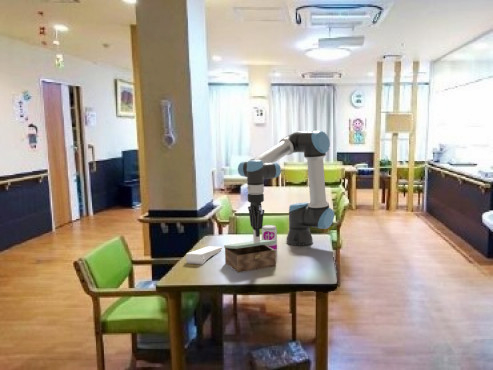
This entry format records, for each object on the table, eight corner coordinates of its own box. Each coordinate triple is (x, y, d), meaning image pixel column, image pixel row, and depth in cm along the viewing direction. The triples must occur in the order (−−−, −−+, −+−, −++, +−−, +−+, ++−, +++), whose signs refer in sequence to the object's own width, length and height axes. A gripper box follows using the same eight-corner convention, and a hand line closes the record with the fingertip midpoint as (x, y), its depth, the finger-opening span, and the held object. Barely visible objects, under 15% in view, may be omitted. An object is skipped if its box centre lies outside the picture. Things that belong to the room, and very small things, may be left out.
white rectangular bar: (208, 259, 245) (186, 268, 219) (206, 246, 246) (183, 254, 219) (224, 256, 242) (204, 264, 216) (222, 243, 243) (200, 250, 216)
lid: (261, 242, 225) (261, 240, 225) (276, 242, 210) (275, 240, 210) (224, 247, 217) (224, 245, 217) (236, 248, 202) (236, 246, 202)
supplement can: (276, 256, 228) (275, 228, 226) (260, 255, 230) (260, 227, 228) (278, 252, 236) (277, 224, 234) (263, 251, 237) (262, 224, 235)
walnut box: (261, 257, 226) (260, 242, 225) (276, 266, 211) (276, 250, 210) (225, 263, 218) (224, 247, 217) (238, 273, 203) (238, 256, 202)
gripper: (242, 192, 207) (243, 240, 210) (254, 195, 196) (255, 247, 199) (256, 191, 210) (257, 238, 213) (269, 194, 199) (270, 244, 202)
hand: (256, 242), depth 206 cm, fingers closed
